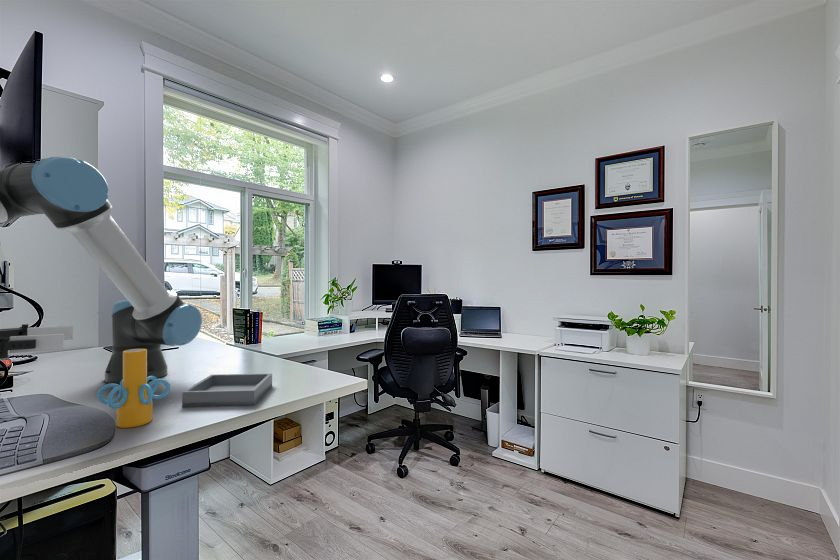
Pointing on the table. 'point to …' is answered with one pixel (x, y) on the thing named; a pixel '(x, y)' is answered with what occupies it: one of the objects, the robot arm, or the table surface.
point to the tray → (227, 390)
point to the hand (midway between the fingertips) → (68, 336)
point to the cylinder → (133, 391)
